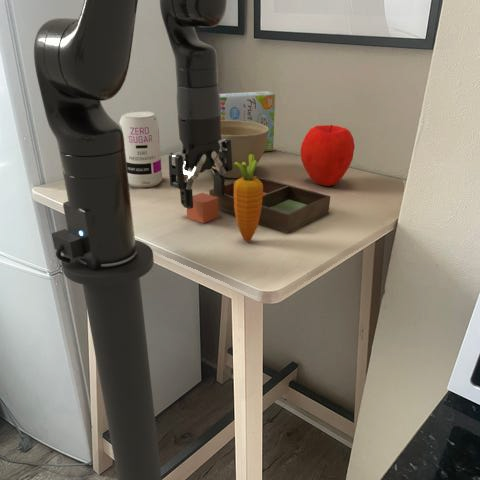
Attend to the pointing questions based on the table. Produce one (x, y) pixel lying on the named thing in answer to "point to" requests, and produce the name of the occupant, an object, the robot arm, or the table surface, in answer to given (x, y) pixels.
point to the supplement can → (142, 148)
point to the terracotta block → (203, 208)
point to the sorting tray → (281, 205)
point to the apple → (327, 153)
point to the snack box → (250, 110)
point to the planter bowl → (244, 142)
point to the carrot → (247, 199)
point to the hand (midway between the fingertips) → (203, 201)
